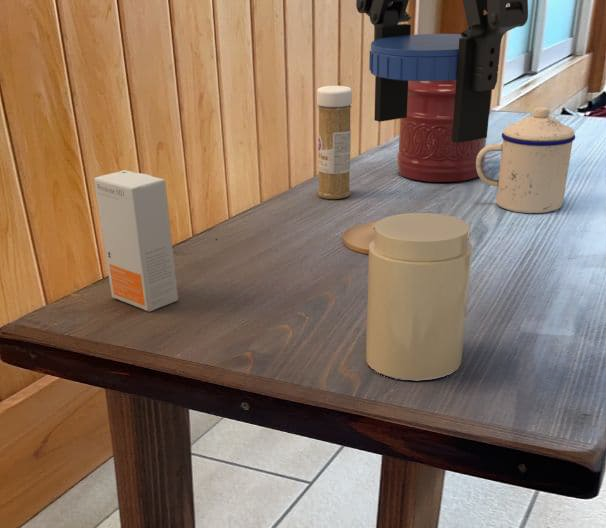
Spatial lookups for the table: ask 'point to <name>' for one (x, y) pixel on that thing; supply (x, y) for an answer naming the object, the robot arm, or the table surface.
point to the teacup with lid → (532, 163)
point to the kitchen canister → (434, 136)
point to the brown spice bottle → (334, 141)
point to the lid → (416, 57)
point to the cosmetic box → (137, 238)
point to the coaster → (359, 237)
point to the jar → (417, 294)
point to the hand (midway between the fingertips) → (427, 128)
